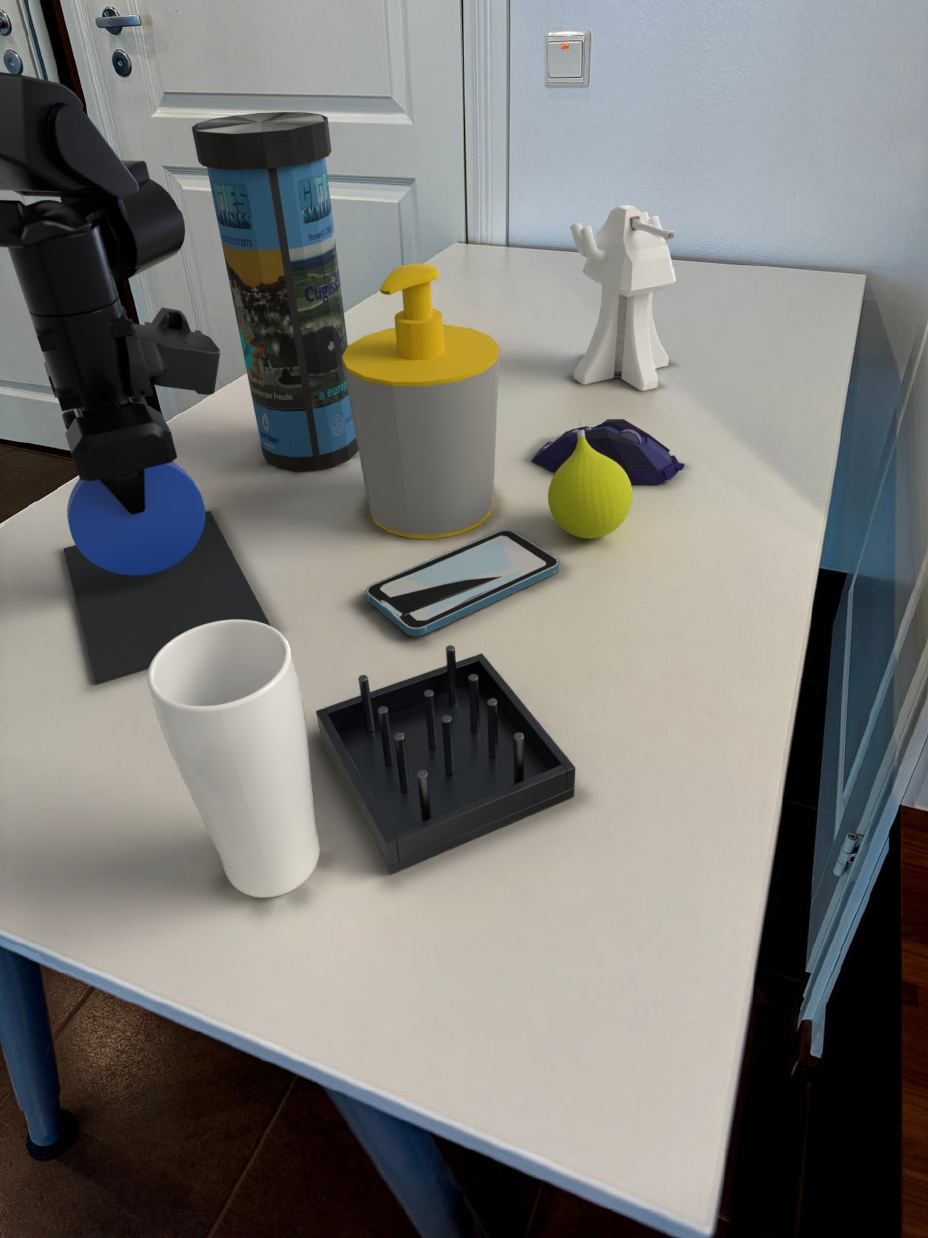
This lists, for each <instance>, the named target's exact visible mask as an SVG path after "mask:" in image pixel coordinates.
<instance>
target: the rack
mask: <svg viewBox="0 0 928 1238" xmlns="http://www.w3.org/2000/svg"><path fill="white" fill-rule="evenodd" d="M445 658H446V660H445V661H446V665H444V666H441V667H438V668H435V669H432V670H429V671H426V672H424V673H421V674H418V675H414V676H412V677H410V678H406V679H403V680H401V681H398V682H395V683H391V684H389V685H386V686H384V687H383V686H382V687H379V688H378V689H375V690H372V691H371V689H370V682H369V681H370V680H369V676H368V675H366V674H360V676H358V686H359V694H360V695H358V696H355V697H351V698H349V699H346V700H343V701H340V702H337V703H334V704H332V705H329V706H326V707H324V708H320V709H317V710H316V711H315V715H316V716H315V717H316V720H317V725H318V726H317V727H318V731H319V736H320V741H321V743H322V745H323V746H324V748H325V750H326V752H327V754H328V756H329V758H330V760H331V762H332V764H333V765H334V767H335V770H336V772H337V774H338V775H339V777H340V779H341V781H342V784H343V785H344V787H345V788H346V791H347V793H348V794H349V797H350V798H351V801H352V802H353V804H354V807H355V809H356V810H357V812H358V814H359V816H360V818H361V820H362V822H363V824H364V826H365V828H366V830H367V832H368V833H369V836H370V838H371V839H372V841H373V843H374V845H375V847H376V849H377V852H378V853H379V855H380V857H381V859H382V861H383V862H384V865H385V866H386V868H387V870H388V873H389V874H390V875H393V874H395V873H398V872H400V871H403V870H405V869H407V868H411V867H412V866H415V865H417V864H419V863H422V862H424V861H426V860H428V859H429V860H430V859H431V858H433V857H436V856H438V855H441V854H442V853H443V854H444V853H445V852H447V851H451V850H452V849H455V848H457V847H459V846H461V845H464V844H466V843H469V842H471V841H474V840H476V839H478V838H480V837H483V836H485V835H488V834H489V833H492V832H494V831H497V830H499V829H502V828H504V827H507V826H509V825H511V824H513V823H516V822H518V821H520V820H524V819H526V818H527V817H530V816H531V815H532V816H533V815H534V814H537V813H539V812H542V811H544V810H546V809H548V808H551V807H554V806H555V805H558V804H560V803H563V802H565V801H568V800H569V799H572V798H574V797H575V784H576V783H575V782H576V766H575V765H574V764H573V762H572V761H571V760H570V758H568V756H567V755H566V754H565V753H564V751H563V750H562V749H561V748H560V746H559V745H558V744H557V743H556V742H555V741H554V739H553V738H552V737H551V736H550V734H549V733H548V732H547V730H546V729H545V728H544V727H543V725H541V723H540V722H539V720H537V718H536V717H535V716H534V715H533V713H532V712H531V711H530V710H529V708H528V707H527V706H526V705H525V704H524V703H523V701H522V700H521V699H520V697H519V696H518V695H517V694H516V693H515V692H514V690H513V689H512V687H510V686H509V684H508V683H507V682H506V681H505V679H504V678H503V677H502V675H501V674H500V673H499V672H498V670H496V668H495V667H494V665H493V664H491V662H490V661H489V660H488V658H487V657H486V656H485V655H484V654H483V652H482V653H478V654H476V655H473V656H470V657H467V658H464V659H461V660H459V661H457V659H456V658H457V657H456V647H455V646H454V645H452V644H449V645H447V646H446V647H445Z"/></svg>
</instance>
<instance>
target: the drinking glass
mask: <svg viewBox="0 0 928 1238" xmlns="http://www.w3.org/2000/svg"><path fill="white" fill-rule="evenodd" d="M146 675H147V677H146V680H147V681H146V682H147V686H148V690H149V694H150V697H151V701H152V704H153V708H154V712H155V716H156V719H157V722H158V724H159V727H160V730H161V733H162V736H163V738H164V741H165V744H166V746H167V749H168V751H169V753H170V756H171V758H172V760H173V762H174V764H175V767H176V769H177V771H178V773H179V775H180V777H181V779H182V781H183V783H184V786H185V787H186V789H187V792H188V793H189V795H190V798H191V800H192V801H193V803H194V805H195V807H196V809H197V812H198V813H199V815H200V817H201V820H202V821H203V824H204V826H205V828H206V830H207V833H208V834H209V836H210V839H211V840H212V843H213V845H214V847H215V850H216V851H217V853H218V856H219V859H220V861H221V864H222V868H223V870H224V874H225V875H226V877H227V879H228V881H229V882H230V884H231V885H232V886H233V887H234V889H236V890H238V891H239V892H241V893H243V894H244V895H247V896H250V897H253V898H254V897H255V898H261V899H262V898H274V897H280V896H282V895H285V894H288V893H290V892H293V891H294V890H296V889H298V888H299V887H300V886H301V885H302V884H303V883H305V882H306V881H307V880H308V879H309V877H310V876H311V875H313V873H314V870H315V869H316V867H317V864H318V862H319V859H320V849H321V848H320V847H321V846H320V841H319V835H318V830H317V825H316V818H315V817H316V816H315V808H314V796H313V786H312V774H311V762H310V751H309V741H308V739H309V737H308V728H307V717H306V711H305V704H304V699H303V692H302V688H301V684H300V679H299V674H298V671H297V667H296V663H295V660H294V657H293V654H292V649H291V645H290V643H289V641H288V640H287V638H286V637H285V636H284V634H283V633H282V632H281V631H279V630H277V629H276V628H275V627H274V626H272V625H271V626H269V625H267V624H264V623H261V622H257V621H251V620H239V619H237V620H223V621H216V622H211V623H208V624H204V625H201V626H198V627H195V628H193V629H190V630H188V631H186V632H184V633H182V634H180V635H179V636H177V637H175V638H174V639H172V640H171V641H170V642H168V643H167V644H166V645H165V646H164V647H163V648H162V649H161V650H160V651H159V652H158V653H157V654H156V656H155V657H154V659H153V660H152V662H151V664H150V667H149V668H148V669H147V674H146Z"/></svg>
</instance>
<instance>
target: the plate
mask: <svg viewBox="0 0 928 1238" xmlns="http://www.w3.org/2000/svg"><path fill="white" fill-rule="evenodd" d="M73 486H74V487H73V488H72V490H71V492H70V495H69V498H68V501H67V506H66V518H67V524H68V528H69V532H70V536H71V539H72V541H73V542H74V544H75V545H76V546H77V547H78V549H79V550H80V552H81V553H82V554H83V555H84V556H85V557H86V558H87V559H88V560H90V561H91V562H92V563H94V564H95V565H97V566H98V567H100V568H103V569H105V570H107V571H110V572H113V573H117V574H122V575H131V576H137V575H148V574H153V573H157V572H160V571H163V570H165V569H167V568H169V567H171V566H173V565H175V564H176V563H178V562H180V561H181V560H182V559H183V558H185V557H186V556H187V555H188V554H189V553H190V552H191V551H192V549H193V548H194V547H195V545H196V544H197V542H198V540H199V539H200V536H201V534H202V532H203V528H204V524H205V512H206V507H205V502H204V501H205V500H204V498H203V496H202V493H201V492H200V490H199V488H198V486H197V484H196V482H195V481H194V479H193V478H192V476H191V475H190V474H189V473H188V472H187V471H186V470H185V469H183V467H181V466H180V465H178V464H177V463H176V462H174V461H172V462H171V463H167V464H163V465H159V466H155V467H150V468H146V469H145V511H144V512H141V513H137V514H130V513H129V512H128V511H127V510H126V508H125V507H124V506H123V505H122V504H121V503H120V502H119V501H118V500H117V499H116V497H115V496H114V495H113V494H112V493H111V492H110V491H109V490H108V489H107V488H106V487H105V486H104V485H103V484H102V482H101V481H100V480H95V481H91V482H90V481H83V480H80V478H79V479H78V480H77V481H76V483H75V485H73Z"/></svg>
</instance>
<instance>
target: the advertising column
mask: <svg viewBox="0 0 928 1238" xmlns="http://www.w3.org/2000/svg"><path fill="white" fill-rule="evenodd" d="M329 127H330V126H329V117H328V116H327V115H323V114H321V113H314V112H306V111H273V112H272V111H271V112H256V113H246V114H235V115H229V116H222V117H218V118H217V117H216V118H211V119H207V120H204V121H201V122H197V123H196V124H194V125H193V126H191V131H192V137H193V142H194V147H195V151H196V152H195V153H196V157H197V162H198V163H199V164H200V165H201V166H202V167H204V168H205V167H206V169H207V170H206V171H207V175H208V180H209V186H210V191H211V196H212V201H213V206H214V210H215V215H216V216H215V217H216V220H217V227H218V231H219V237H220V241H221V242H220V243H221V247H222V252H223V258H224V262H225V268H226V272H227V278H228V282H229V288H230V293H231V298H232V304H233V308H234V314H235V319H236V324H237V328H238V334H239V338H240V345H241V349H242V354H243V360H244V365H245V369H246V370H245V371H246V376H247V380H248V385H249V391H250V395H251V401H252V406H253V411H254V417H255V421H256V428H257V432H258V436H259V442H260V448H261V452H262V456H263V458H264V460H265V461H266V463H267V464H268V465H270V466H272V467H274V468H276V469H277V470H280V471H281V470H282V471H288V472H293V473H303V472H319V471H323V470H327V469H330V468H336V467H337V466H339V465H341V464H344V463H345V462H348V461H350V460H351V459H352V458H353V457H354V456H355V455H356V454H357V453H359V450H358V445H357V439H356V434H355V429H354V423H353V418H352V412H351V407H350V402H349V396H348V391H347V385H346V380H345V375H344V369H343V364H342V356H343V354H344V352H345V350H346V349H347V347H348V345H349V344H348V336H347V335H348V334H347V328H346V320H345V319H346V318H345V309H344V301H343V295H342V293H343V292H342V284H341V276H340V270H339V260H338V252H337V244H336V243H337V242H336V235H335V227H334V219H333V210H332V204H331V194H330V186H329V177H328V169H327V161H326V158H328V157H329V156H330V155H331V153H332V143H331V135H330V128H329Z"/></svg>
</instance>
